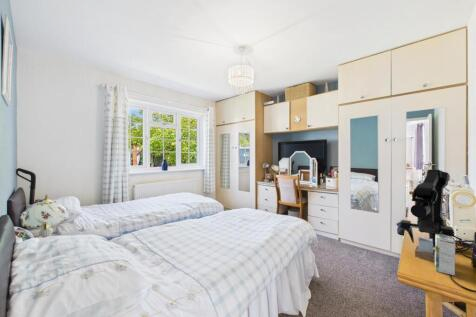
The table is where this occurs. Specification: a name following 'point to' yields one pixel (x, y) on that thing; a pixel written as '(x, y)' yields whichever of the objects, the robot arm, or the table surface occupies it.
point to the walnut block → (425, 254)
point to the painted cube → (425, 245)
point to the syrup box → (445, 254)
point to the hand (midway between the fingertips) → (425, 245)
